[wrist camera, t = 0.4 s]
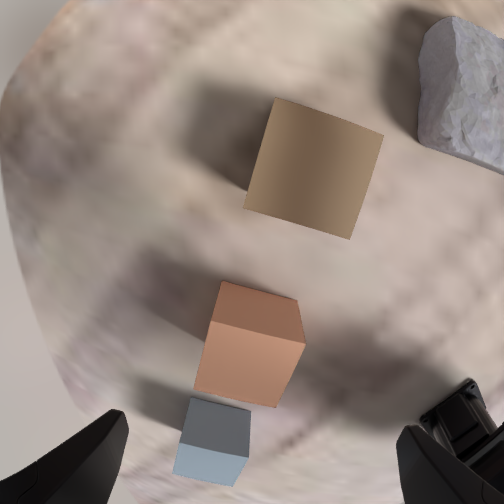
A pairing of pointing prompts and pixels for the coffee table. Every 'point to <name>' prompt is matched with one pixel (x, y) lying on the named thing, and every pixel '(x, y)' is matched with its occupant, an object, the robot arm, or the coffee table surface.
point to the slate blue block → (213, 443)
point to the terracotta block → (250, 346)
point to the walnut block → (312, 169)
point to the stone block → (462, 92)
